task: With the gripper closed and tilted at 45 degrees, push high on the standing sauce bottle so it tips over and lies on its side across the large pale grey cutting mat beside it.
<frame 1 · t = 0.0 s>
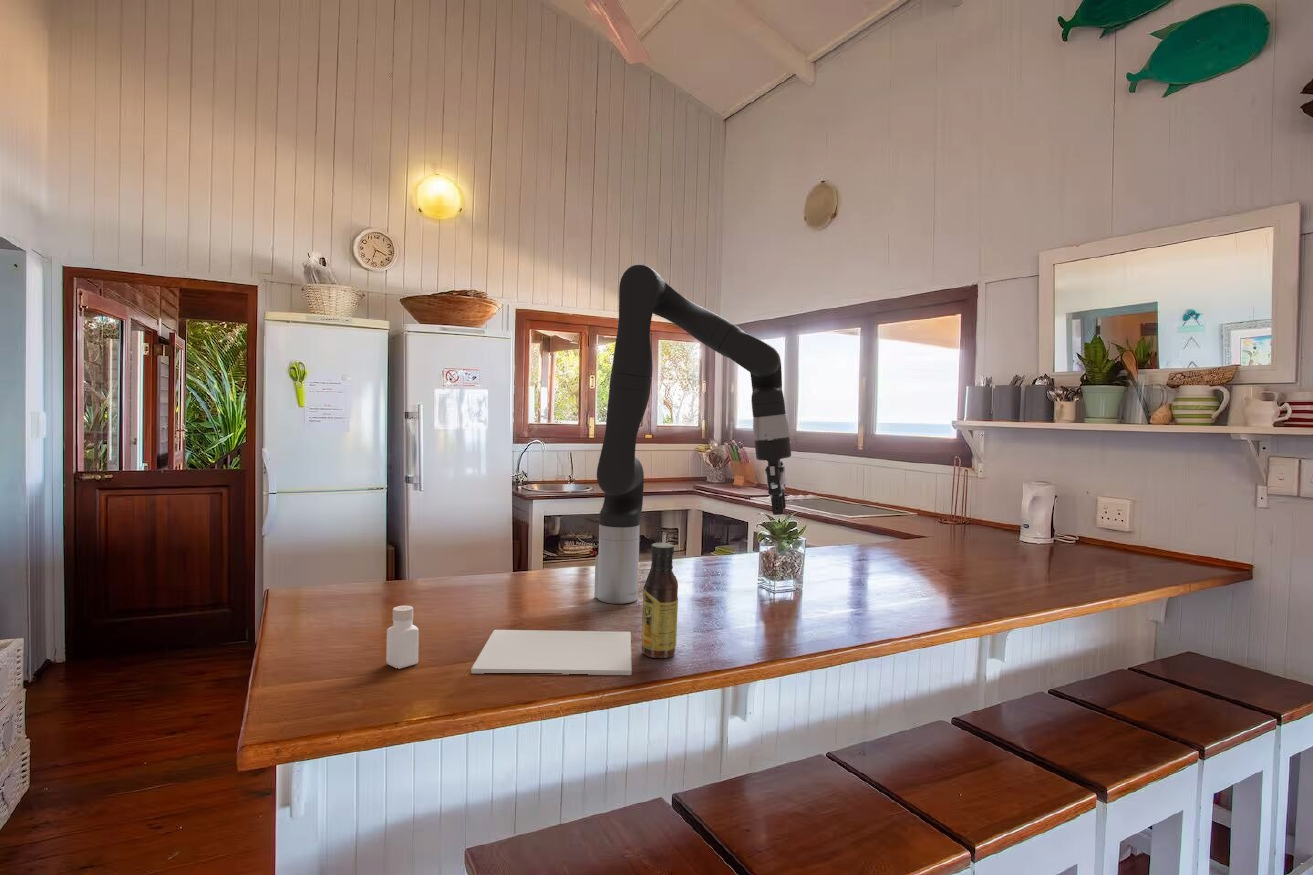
hand: (779, 511, 152), 22 cm above the counter, tool pointing down, fingers open, 8 cm apart
cutting mat: (557, 652, 125), on the counter
white pill bottle: (402, 665, 117), on the counter
sauce bottle: (658, 655, 126), on the counter
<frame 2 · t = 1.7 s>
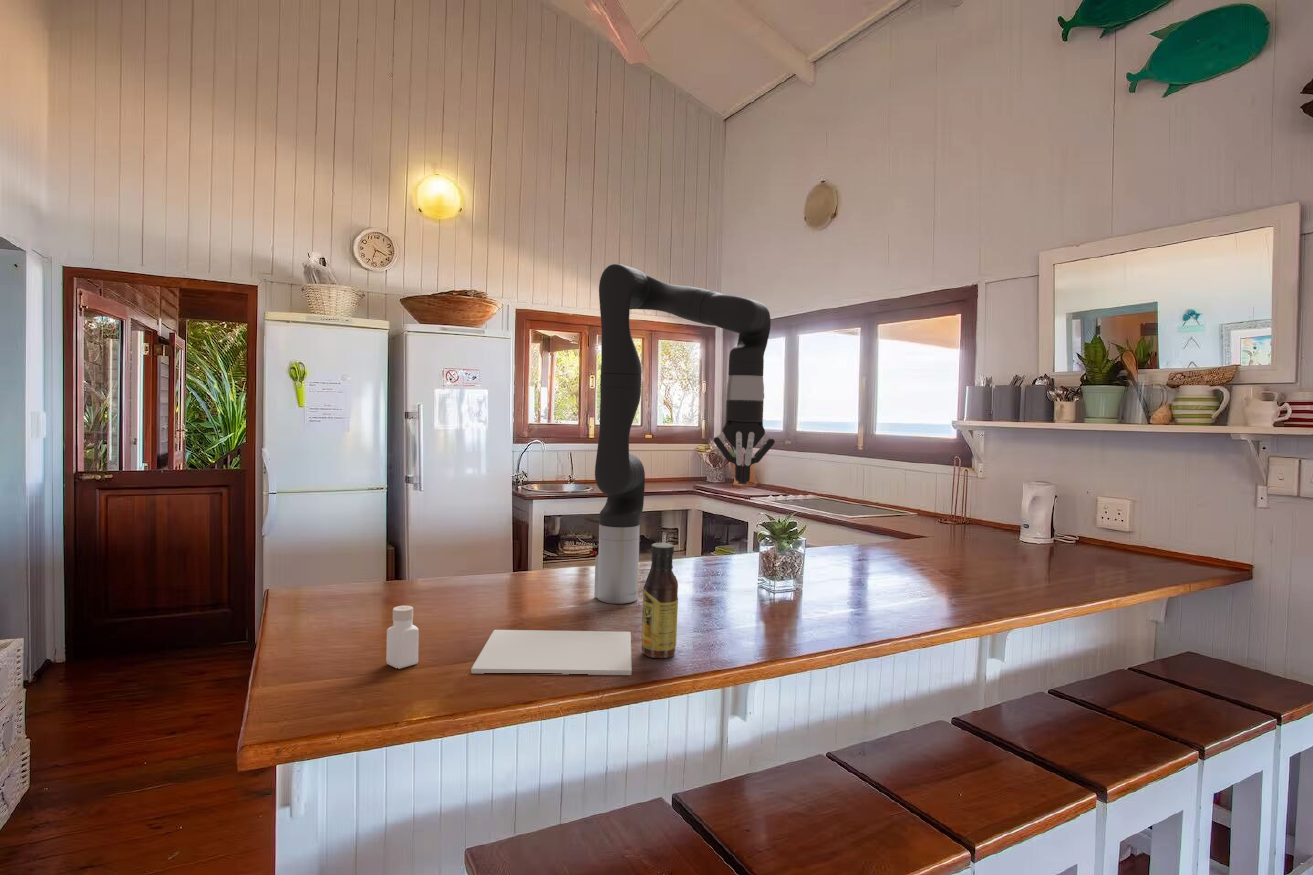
hand: (741, 483, 144), 29 cm above the counter, tool pointing down, fingers closed
nothing on the counter moved.
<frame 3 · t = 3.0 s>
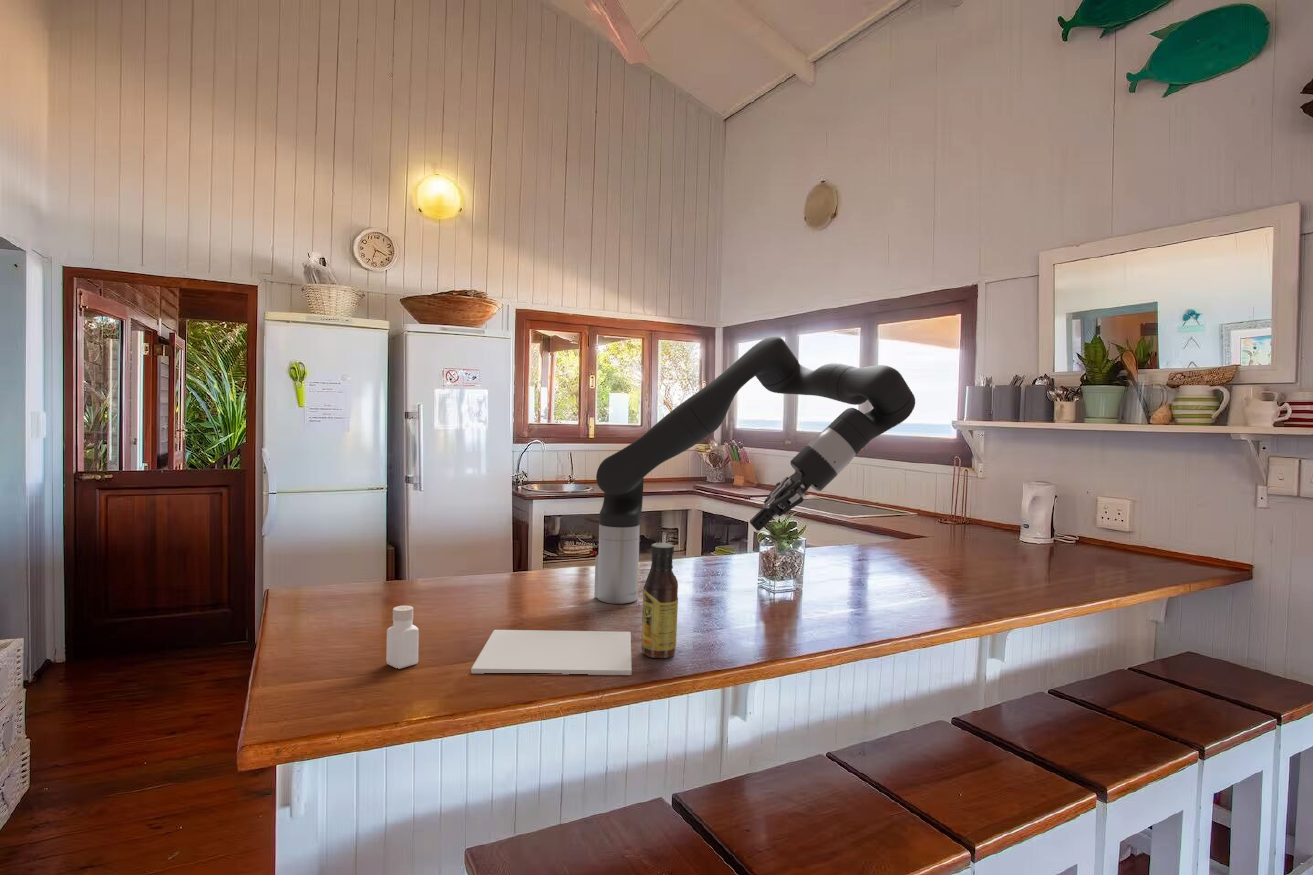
hand: (753, 526, 125), 23 cm above the counter, tool tilted 45°, fingers closed
nothing on the counter moved.
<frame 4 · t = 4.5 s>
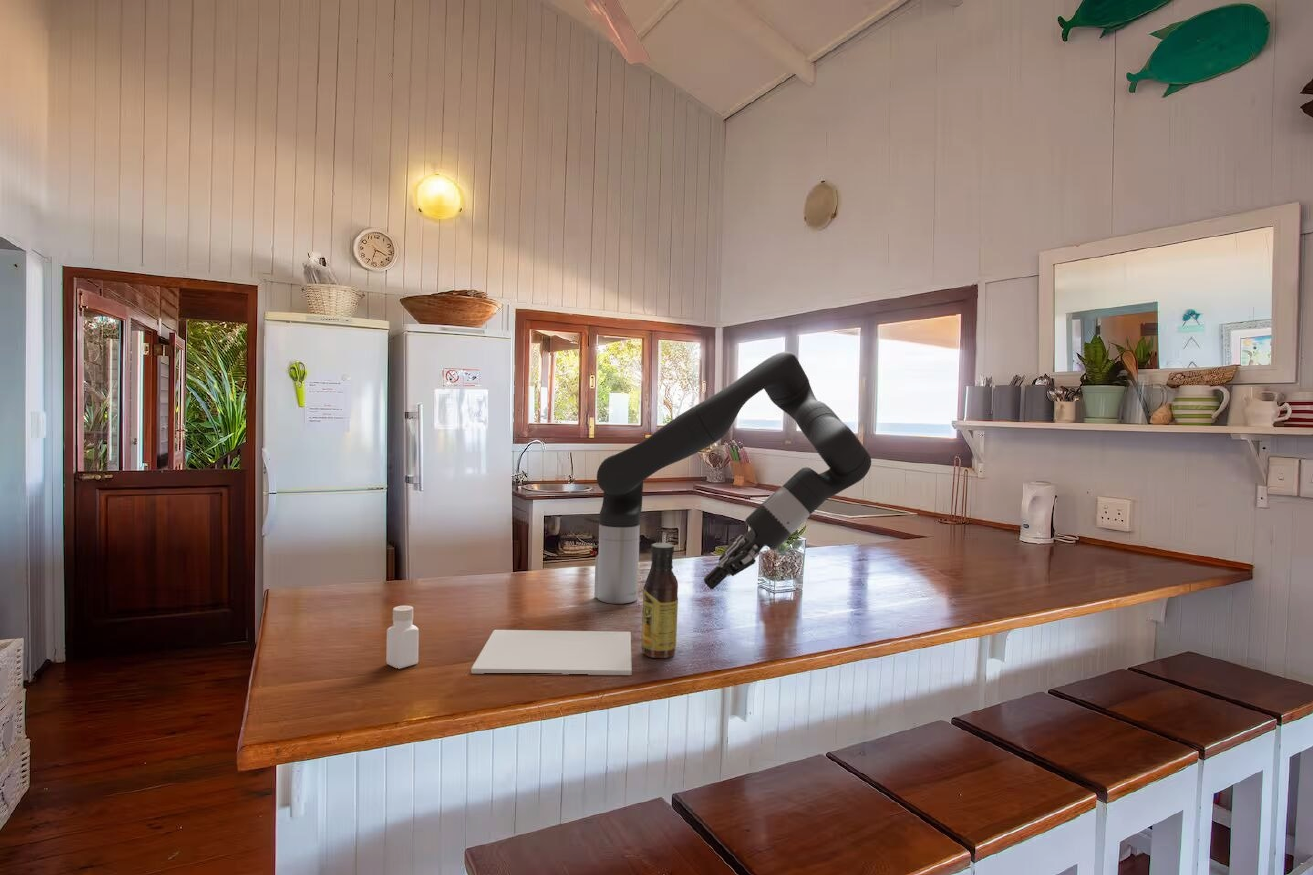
hand: (707, 584, 126), 13 cm above the counter, tool tilted 45°, fingers closed
nothing on the counter moved.
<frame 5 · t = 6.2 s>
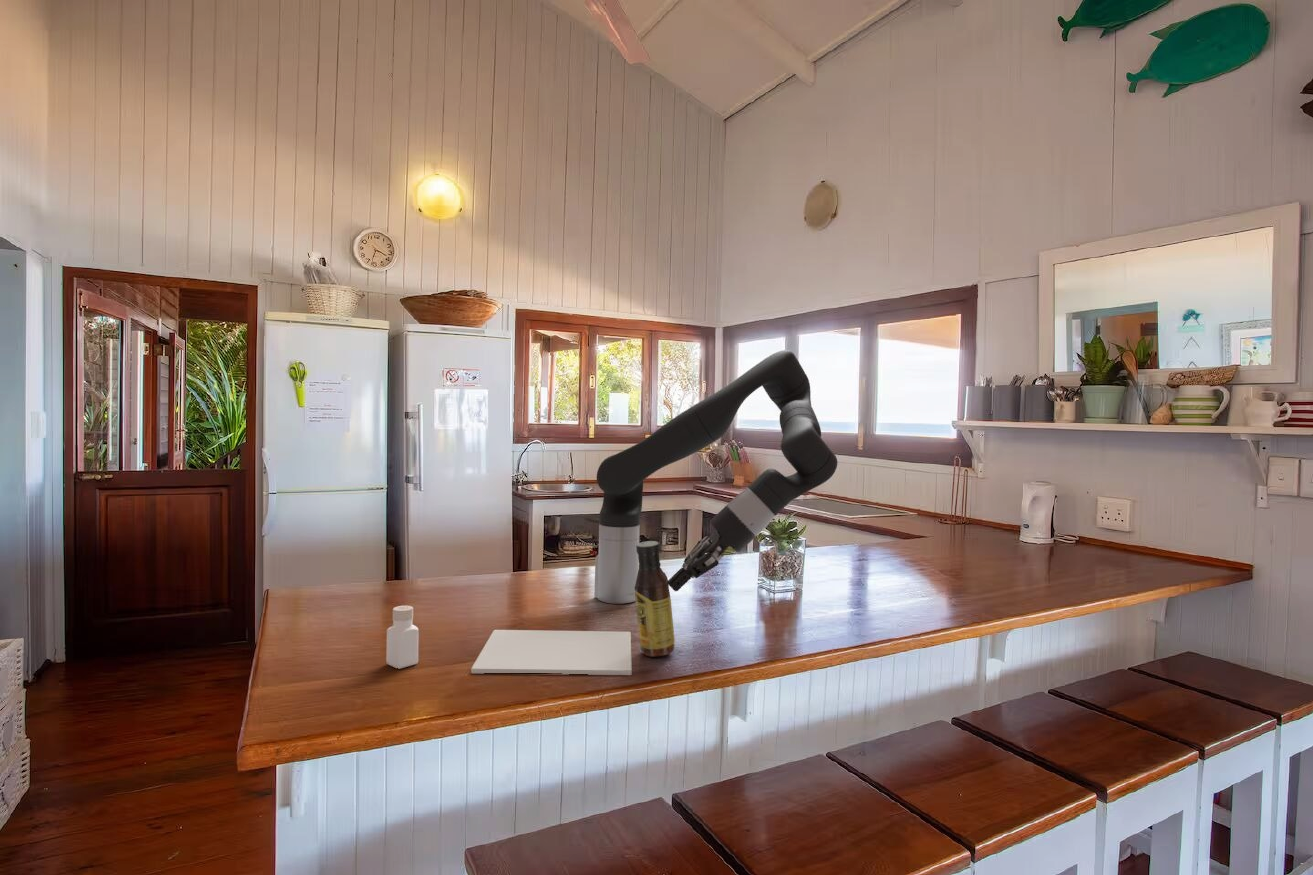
hand: (671, 586, 125), 12 cm above the counter, tool tilted 45°, fingers closed
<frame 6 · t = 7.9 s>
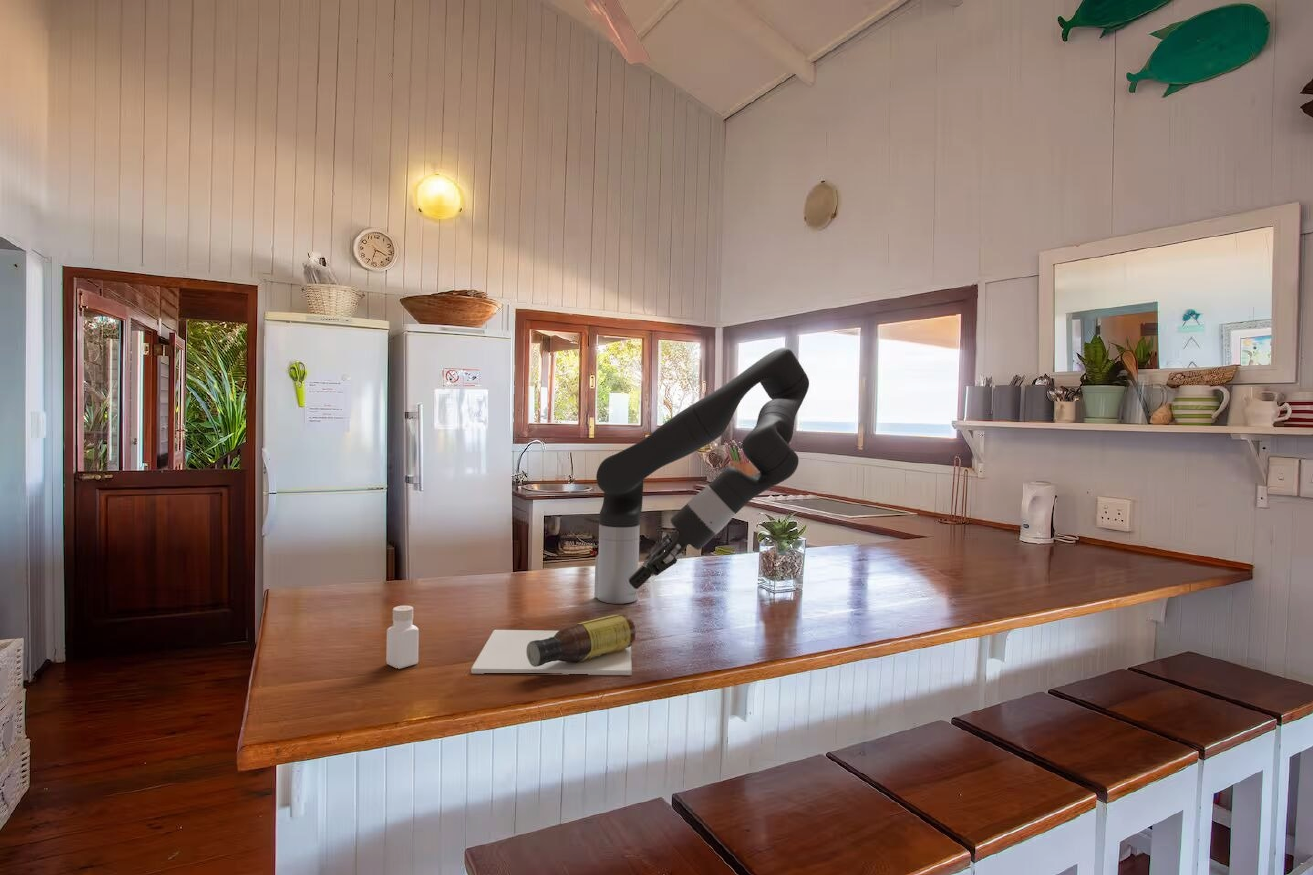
hand: (632, 584, 125), 12 cm above the counter, tool tilted 45°, fingers closed
sauce bottle: (628, 630, 126), point 4 cm above the counter, touching cutting mat
everything else where it was.
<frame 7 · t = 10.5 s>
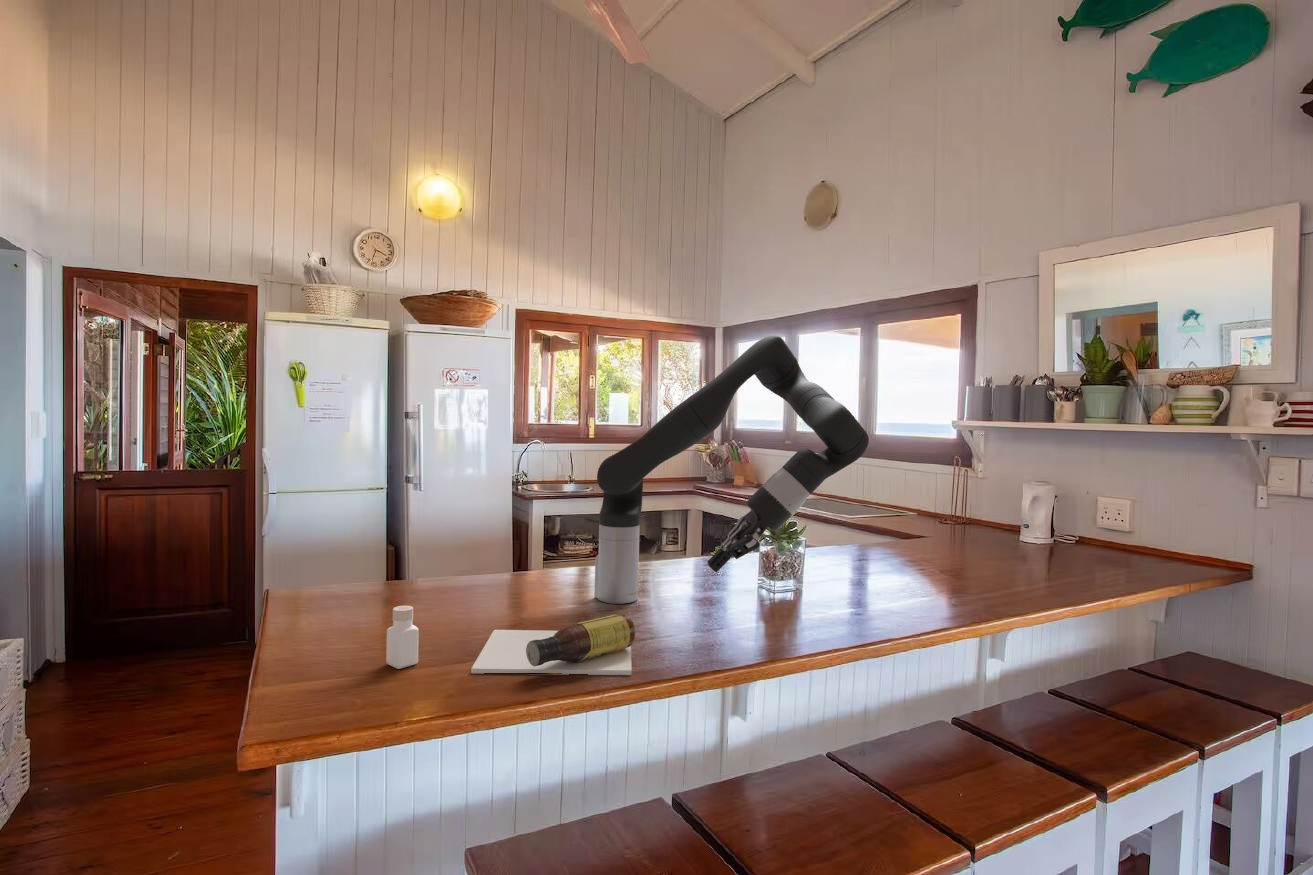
hand: (711, 567, 127), 15 cm above the counter, tool tilted 40°, fingers closed
nothing on the counter moved.
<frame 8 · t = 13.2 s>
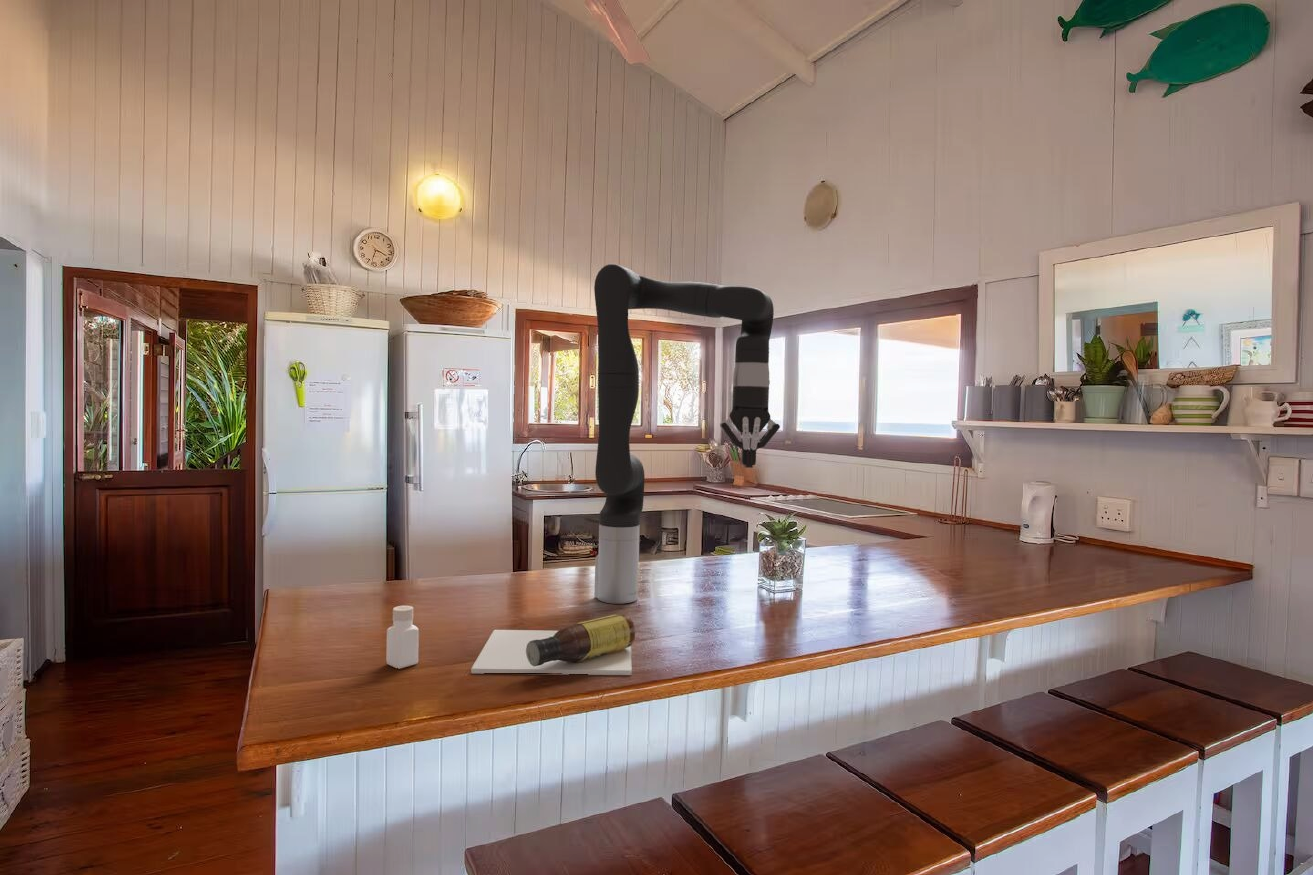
hand: (748, 467, 149), 32 cm above the counter, tool pointing down, fingers closed
nothing on the counter moved.
at the end: sauce bottle tilted 90°; sauce bottle touching cutting mat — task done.
